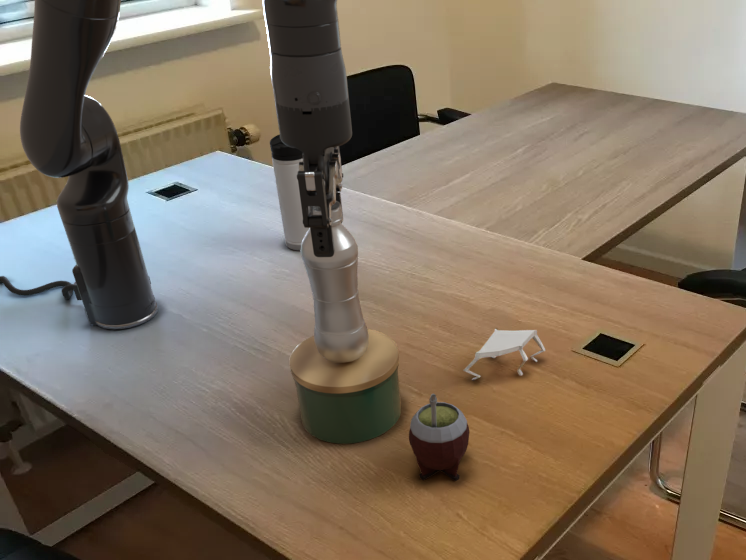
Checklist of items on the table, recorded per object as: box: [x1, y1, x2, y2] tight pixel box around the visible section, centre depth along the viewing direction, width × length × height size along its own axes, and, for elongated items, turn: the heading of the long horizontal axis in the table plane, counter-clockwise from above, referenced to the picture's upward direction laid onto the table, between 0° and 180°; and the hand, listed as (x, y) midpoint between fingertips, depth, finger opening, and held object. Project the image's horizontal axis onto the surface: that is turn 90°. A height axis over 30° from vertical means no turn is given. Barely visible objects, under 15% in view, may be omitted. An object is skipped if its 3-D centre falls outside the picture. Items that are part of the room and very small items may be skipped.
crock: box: [288, 328, 402, 445], centre depth 104 cm, size 14×14×9 cm
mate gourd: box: [408, 393, 470, 482], centre depth 93 cm, size 8×8×15 cm
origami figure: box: [462, 328, 546, 381], centre depth 113 cm, size 12×8×5 cm
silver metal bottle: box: [299, 201, 369, 363], centre depth 96 cm, size 6×7×20 cm
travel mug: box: [269, 133, 310, 251], centre depth 143 cm, size 6×7×20 cm
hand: (329, 239), depth 92 cm, fingers open, 8 cm apart
